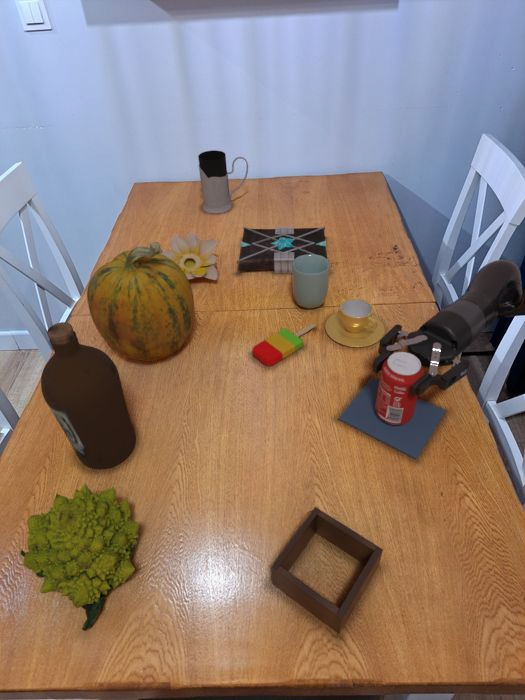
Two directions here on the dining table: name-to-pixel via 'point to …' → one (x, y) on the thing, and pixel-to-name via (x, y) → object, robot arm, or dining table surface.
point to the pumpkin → (142, 303)
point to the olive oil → (87, 400)
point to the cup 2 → (355, 324)
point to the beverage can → (398, 388)
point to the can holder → (341, 539)
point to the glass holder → (216, 181)
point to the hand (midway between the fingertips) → (393, 379)
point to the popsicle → (279, 346)
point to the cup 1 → (310, 280)
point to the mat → (399, 437)
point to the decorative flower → (193, 256)
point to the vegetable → (83, 547)
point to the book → (279, 247)
